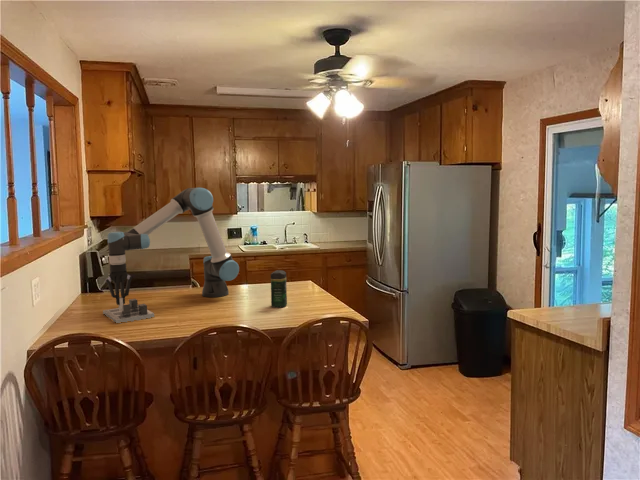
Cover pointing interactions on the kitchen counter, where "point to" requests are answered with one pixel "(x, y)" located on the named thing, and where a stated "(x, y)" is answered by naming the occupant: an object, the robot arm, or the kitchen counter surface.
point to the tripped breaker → (126, 308)
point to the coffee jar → (278, 289)
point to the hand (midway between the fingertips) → (121, 310)
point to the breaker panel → (135, 312)
